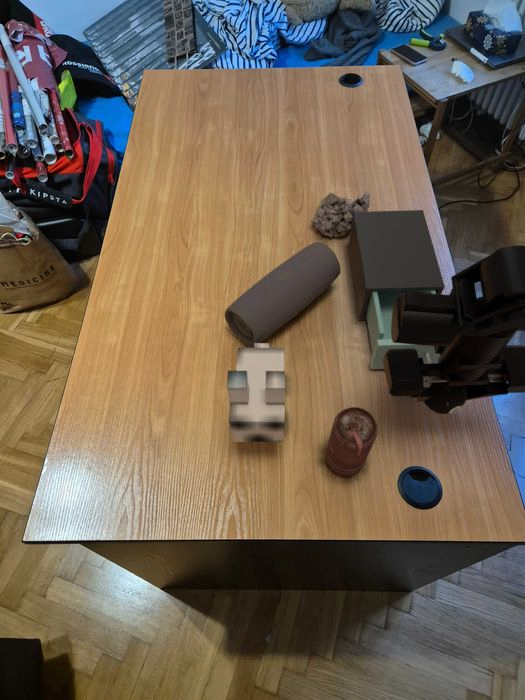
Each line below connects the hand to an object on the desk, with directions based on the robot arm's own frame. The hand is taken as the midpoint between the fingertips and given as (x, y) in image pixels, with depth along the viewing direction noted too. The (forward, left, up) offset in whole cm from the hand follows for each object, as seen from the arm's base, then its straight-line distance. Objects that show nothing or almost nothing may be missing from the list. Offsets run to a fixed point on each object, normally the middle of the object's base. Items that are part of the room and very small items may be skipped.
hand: (440, 398), depth 69 cm
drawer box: (+16, -28, -11) cm, 34 cm away
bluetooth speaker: (+31, -12, -11) cm, 35 cm away
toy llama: (+25, +9, -11) cm, 29 cm away
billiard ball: (0, 0, -1) cm, 1 cm away
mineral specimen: (+30, -38, -11) cm, 50 cm away
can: (+9, +11, -11) cm, 18 cm away
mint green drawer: (+9, -15, -10) cm, 21 cm away
